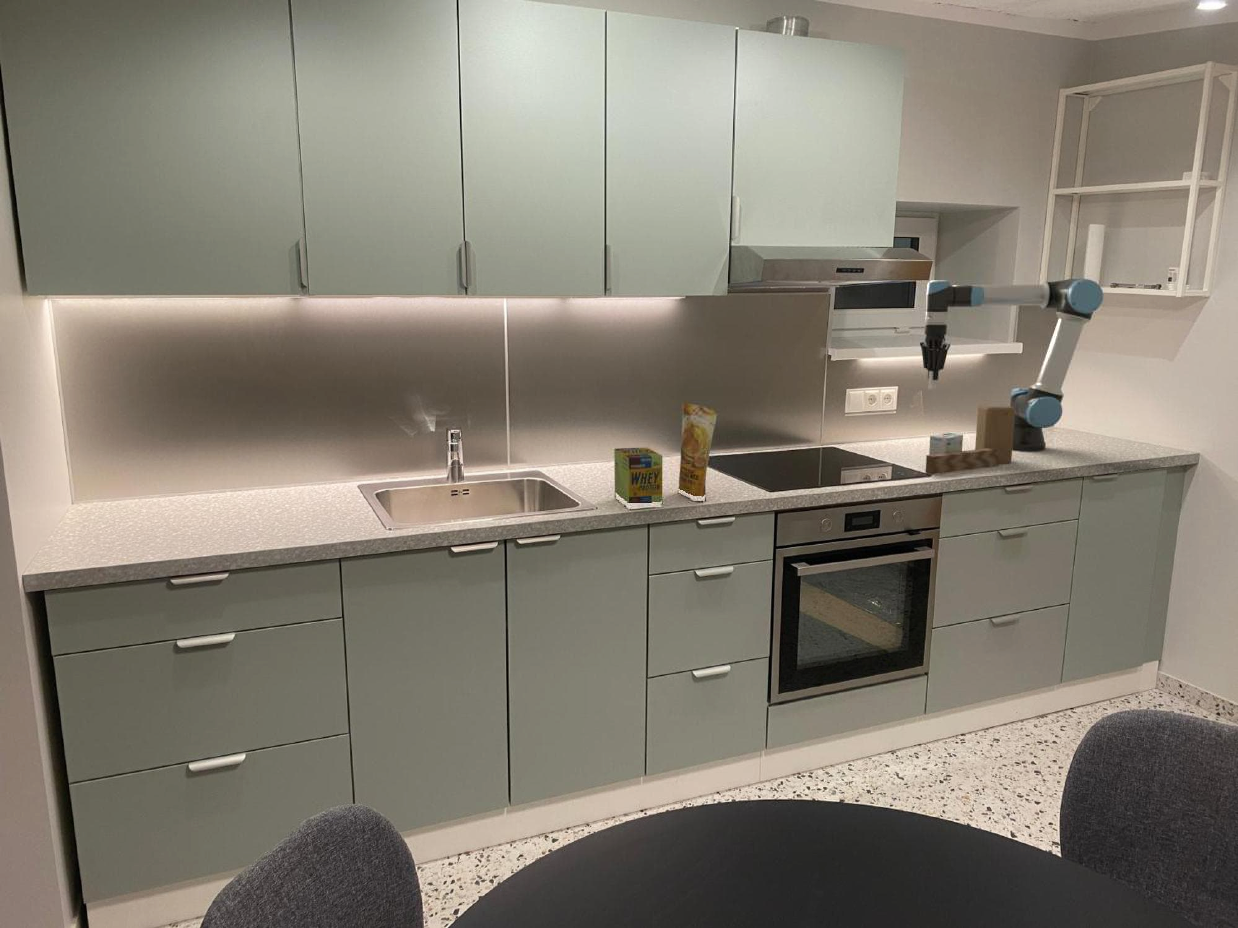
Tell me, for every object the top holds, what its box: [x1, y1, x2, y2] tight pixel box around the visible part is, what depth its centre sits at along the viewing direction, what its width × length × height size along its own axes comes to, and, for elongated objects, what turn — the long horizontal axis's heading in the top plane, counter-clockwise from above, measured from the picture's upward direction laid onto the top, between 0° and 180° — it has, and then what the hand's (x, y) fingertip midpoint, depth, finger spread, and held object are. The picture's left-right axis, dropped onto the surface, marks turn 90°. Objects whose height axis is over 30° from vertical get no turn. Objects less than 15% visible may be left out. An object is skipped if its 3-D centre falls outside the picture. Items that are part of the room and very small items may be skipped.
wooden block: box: [974, 403, 1015, 465], centre depth 328 cm, size 10×10×20 cm
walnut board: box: [925, 448, 999, 475], centre depth 316 cm, size 30×3×6 cm, turn 115°
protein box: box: [613, 446, 663, 503], centre depth 272 cm, size 10×15×16 cm
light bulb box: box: [928, 432, 964, 455], centre depth 323 cm, size 11×7×11 cm, turn 128°
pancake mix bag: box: [678, 401, 719, 497], centre depth 278 cm, size 7×19×28 cm, turn 21°
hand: (932, 388), depth 339 cm, fingers closed
